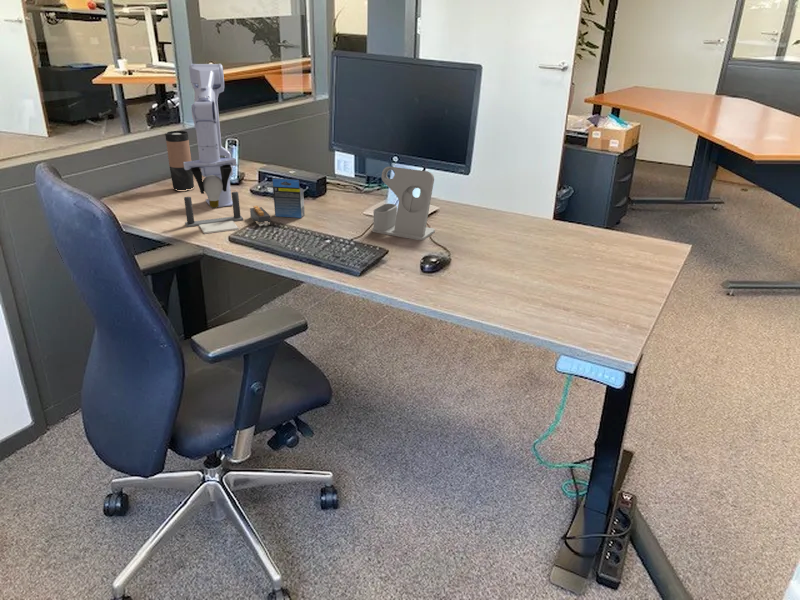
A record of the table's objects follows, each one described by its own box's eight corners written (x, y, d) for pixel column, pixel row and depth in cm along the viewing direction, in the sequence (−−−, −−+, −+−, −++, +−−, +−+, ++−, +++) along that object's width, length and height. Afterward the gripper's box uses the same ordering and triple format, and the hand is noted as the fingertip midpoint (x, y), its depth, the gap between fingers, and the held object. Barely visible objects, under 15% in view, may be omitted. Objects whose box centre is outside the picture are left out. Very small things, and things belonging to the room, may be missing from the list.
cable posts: (185, 224, 189) (181, 196, 186) (241, 217, 196) (238, 190, 193) (186, 227, 187) (183, 199, 183) (243, 220, 194) (240, 193, 190)
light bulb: (212, 212, 183) (209, 178, 179) (200, 208, 186) (197, 175, 182) (228, 208, 187) (226, 175, 183) (216, 204, 190) (213, 172, 186)
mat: (199, 226, 188) (199, 224, 188) (232, 222, 192) (232, 220, 192) (204, 233, 182) (204, 232, 182) (238, 229, 186) (238, 227, 186)
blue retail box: (305, 215, 200) (303, 176, 195) (301, 218, 196) (299, 180, 191) (278, 213, 201) (276, 175, 196) (274, 216, 198) (271, 178, 193)
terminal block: (250, 217, 196) (249, 205, 195) (262, 216, 198) (261, 204, 196) (259, 226, 188) (258, 214, 187) (271, 225, 190) (270, 212, 188)
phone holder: (369, 231, 186) (369, 171, 179) (385, 222, 195) (385, 164, 187) (422, 240, 180) (424, 179, 172) (436, 230, 188) (439, 171, 180)
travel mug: (199, 189, 226) (192, 132, 217) (179, 193, 221) (171, 135, 212) (188, 185, 231) (181, 130, 222) (168, 189, 225) (160, 132, 217)
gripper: (184, 149, 172) (190, 197, 178) (236, 145, 178) (241, 192, 184) (180, 145, 178) (186, 191, 184) (231, 141, 184) (235, 186, 190)
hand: (213, 191), depth 184 cm, fingers closed on light bulb, 6 cm apart
